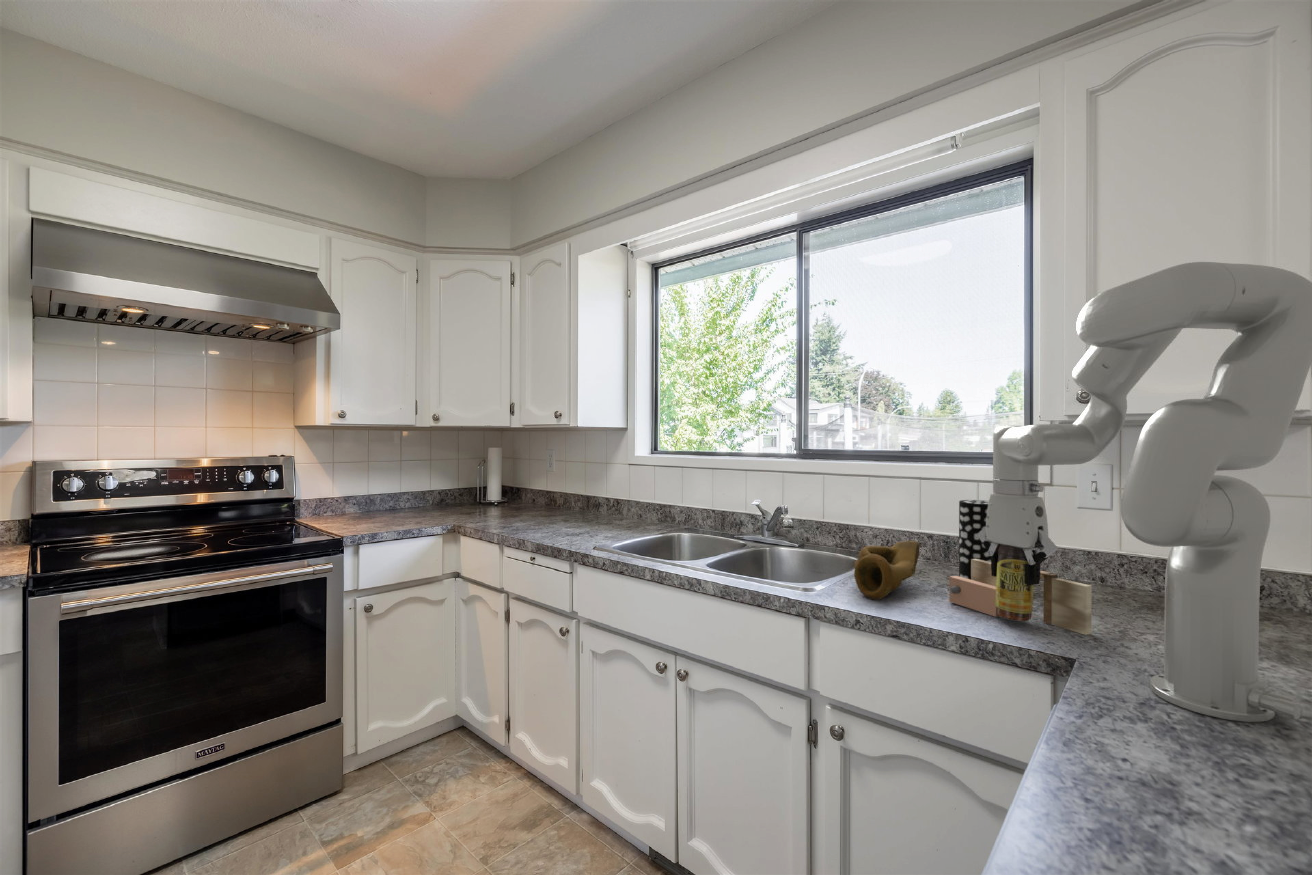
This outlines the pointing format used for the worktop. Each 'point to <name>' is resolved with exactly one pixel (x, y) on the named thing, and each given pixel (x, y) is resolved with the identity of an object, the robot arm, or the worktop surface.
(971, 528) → the spotted tube
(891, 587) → the brown looped sculpture
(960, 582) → the door
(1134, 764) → the worktop surface
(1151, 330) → the robot arm
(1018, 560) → the sauce bottle
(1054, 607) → the door frame
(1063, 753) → the worktop surface
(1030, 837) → the worktop surface
